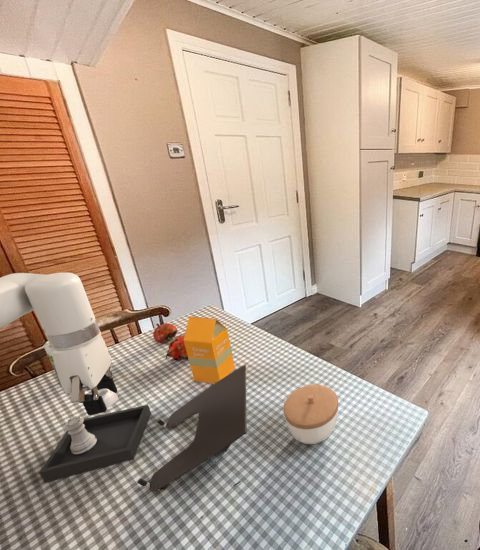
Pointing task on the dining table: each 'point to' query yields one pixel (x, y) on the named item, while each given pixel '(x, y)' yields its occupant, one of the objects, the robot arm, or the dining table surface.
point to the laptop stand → (206, 427)
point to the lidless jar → (108, 397)
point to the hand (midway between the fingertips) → (103, 402)
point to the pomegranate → (164, 332)
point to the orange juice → (208, 349)
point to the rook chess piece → (79, 436)
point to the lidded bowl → (311, 413)
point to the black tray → (99, 444)
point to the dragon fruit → (177, 349)
